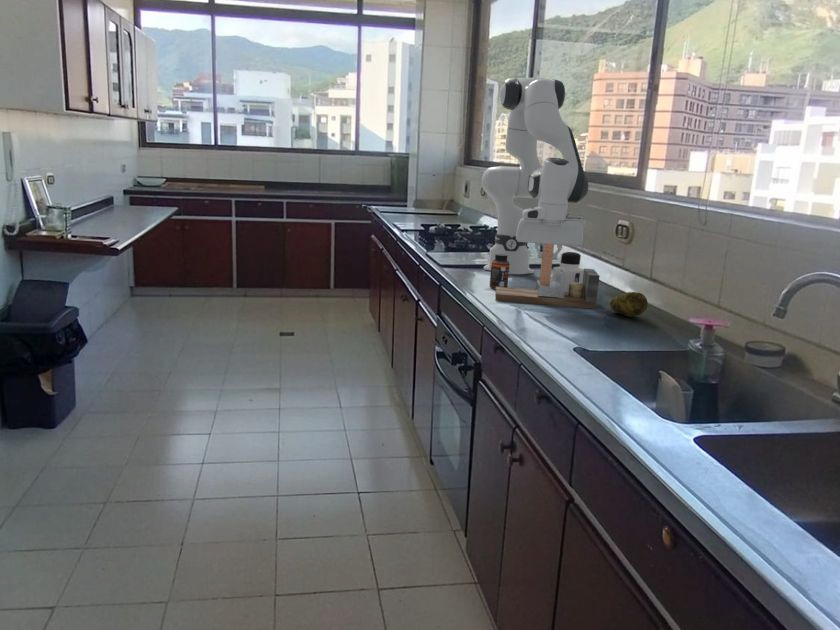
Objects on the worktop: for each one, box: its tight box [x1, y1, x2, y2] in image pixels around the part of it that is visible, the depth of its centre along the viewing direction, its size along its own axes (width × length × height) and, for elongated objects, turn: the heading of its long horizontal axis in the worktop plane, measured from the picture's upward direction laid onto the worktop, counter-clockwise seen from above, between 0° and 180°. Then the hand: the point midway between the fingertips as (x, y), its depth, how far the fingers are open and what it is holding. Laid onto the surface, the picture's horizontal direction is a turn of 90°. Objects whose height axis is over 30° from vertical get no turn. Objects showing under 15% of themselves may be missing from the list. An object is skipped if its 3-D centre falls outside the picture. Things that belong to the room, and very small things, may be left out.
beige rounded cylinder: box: [568, 282, 584, 298], centre depth 208 cm, size 4×4×4 cm
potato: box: [609, 291, 649, 318], centre depth 193 cm, size 8×13×8 cm, turn 179°
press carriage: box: [535, 244, 566, 299], centre depth 207 cm, size 12×8×17 cm, turn 174°
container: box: [551, 251, 585, 292], centre depth 226 cm, size 8×8×13 cm
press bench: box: [494, 268, 600, 310], centre depth 208 cm, size 12×30×10 cm, turn 84°
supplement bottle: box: [489, 254, 510, 290], centre depth 223 cm, size 6×6×11 cm
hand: (547, 258), depth 207 cm, fingers closed on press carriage, 3 cm apart
